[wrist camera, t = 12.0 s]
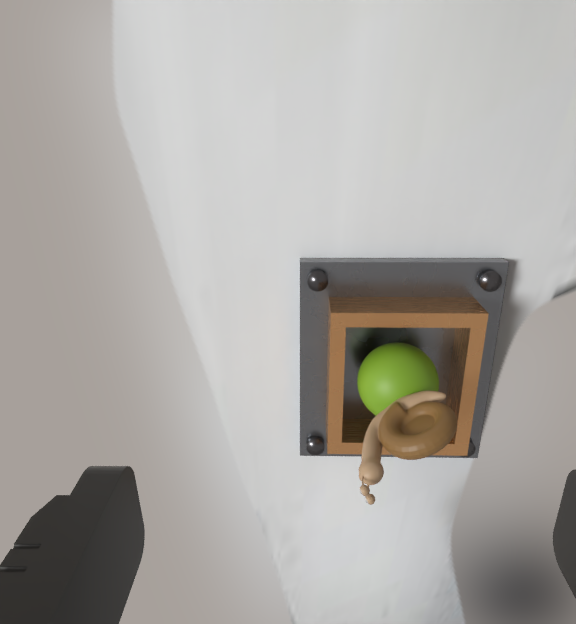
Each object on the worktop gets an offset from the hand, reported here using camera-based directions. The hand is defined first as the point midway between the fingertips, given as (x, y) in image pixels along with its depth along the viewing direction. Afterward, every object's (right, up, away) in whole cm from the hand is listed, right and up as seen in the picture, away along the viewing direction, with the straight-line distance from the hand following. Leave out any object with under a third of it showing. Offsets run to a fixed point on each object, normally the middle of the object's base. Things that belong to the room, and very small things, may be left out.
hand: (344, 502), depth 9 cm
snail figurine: (+6, 0, +28) cm, 28 cm away
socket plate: (+7, 0, +28) cm, 29 cm away
